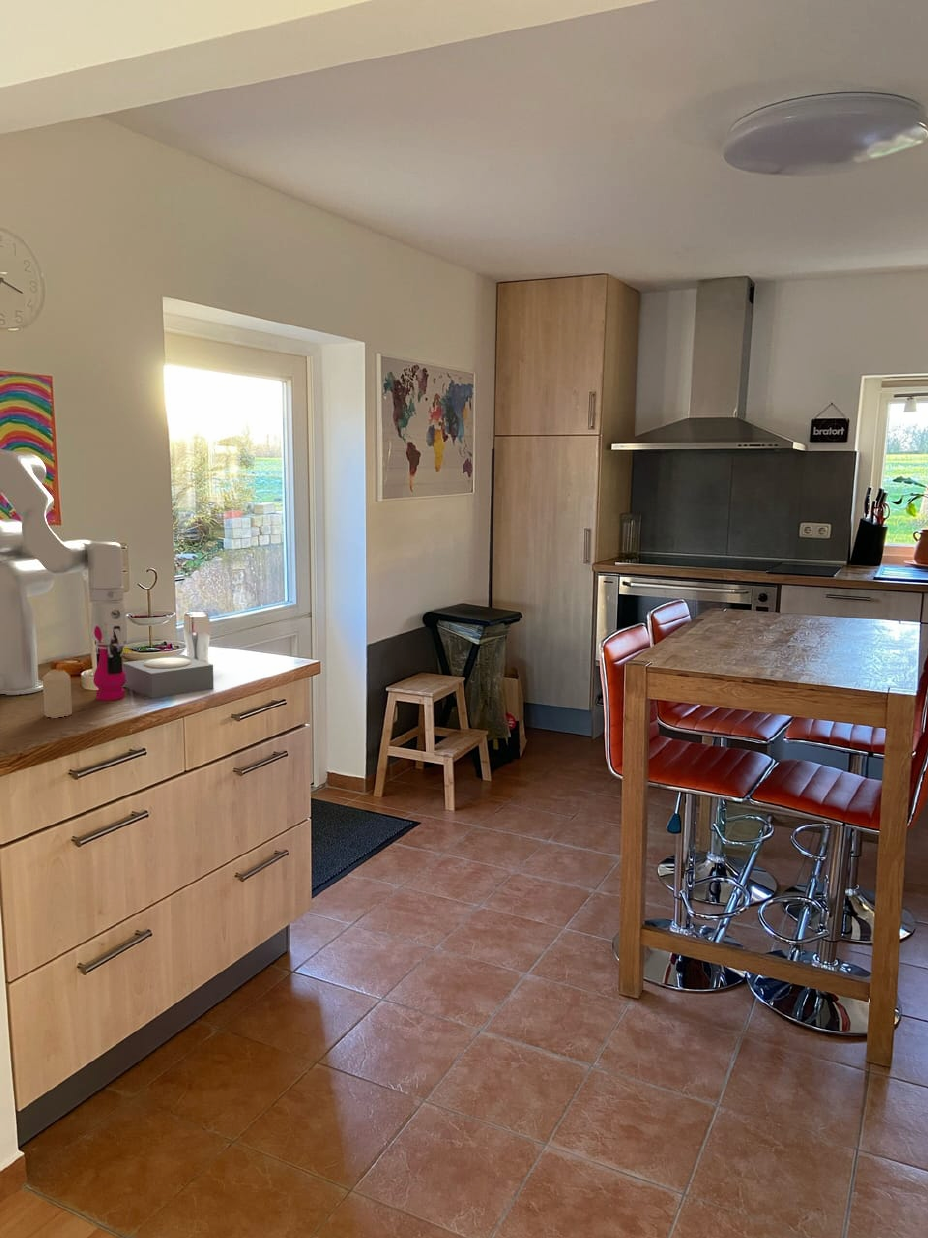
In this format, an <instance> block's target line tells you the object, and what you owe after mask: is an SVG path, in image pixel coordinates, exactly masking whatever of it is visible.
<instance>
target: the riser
mask: <svg viewBox="0 0 928 1238" xmlns="http://www.w3.org/2000/svg"><path fill="white" fill-rule="evenodd" d="M122 667H123V669H124V671H125V674H126V682H125V684H124V685H123V686H122V687H125V688H127V689H129V690H131V691H134V692H136V693H138V694H141V695H143V696H145V697H148V698H150V699H157V698H164V697H169V696H170V697H171V696H176V695H180V694H181V695H182V694H189V693H194V692H199V691H200V692H201V691H206V690H212V689H214V685H215V684H214V665H213V664H212V663H209V662H208V663H206V662H203V661H200V660H197V659H194V658H191V657H188V656H187V655H185V654H177V655H176V654H175V655H171V656H163V657H155V658H146V659H140V660H139V659H138V660H132V661H122Z"/></svg>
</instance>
